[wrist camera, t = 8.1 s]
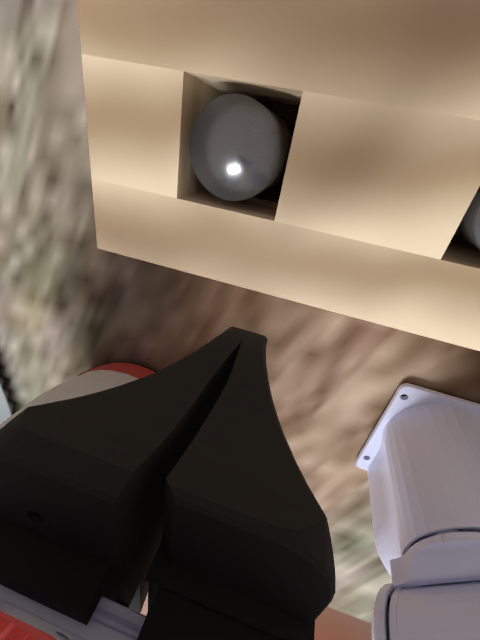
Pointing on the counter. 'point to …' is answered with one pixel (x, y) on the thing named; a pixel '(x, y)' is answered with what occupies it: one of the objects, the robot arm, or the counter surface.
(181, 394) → the robot arm
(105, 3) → the maple peg block
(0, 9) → the counter surface
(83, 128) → the counter surface
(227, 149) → the steel peg
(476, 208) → the steel peg
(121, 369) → the citrus juicer
